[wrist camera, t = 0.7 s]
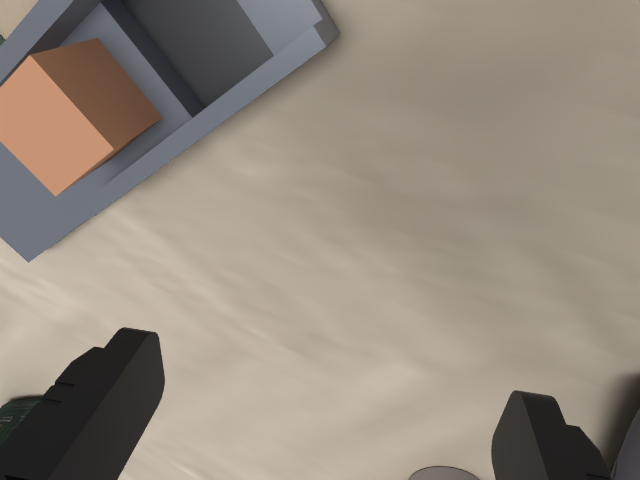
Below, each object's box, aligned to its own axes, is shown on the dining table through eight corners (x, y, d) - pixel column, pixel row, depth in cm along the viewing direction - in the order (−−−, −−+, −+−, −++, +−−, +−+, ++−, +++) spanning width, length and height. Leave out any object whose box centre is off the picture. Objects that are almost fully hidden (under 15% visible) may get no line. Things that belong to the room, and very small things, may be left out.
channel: (229, -151, 20) (187, -177, 16) (339, 32, 23) (326, 46, 19) (-52, 155, 32) (-114, 181, 28) (46, 248, 35) (3, 282, 31)
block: (97, 37, 23) (29, 54, 19) (163, 117, 25) (114, 149, 21) (45, 90, 25) (-26, 115, 21) (109, 160, 27) (55, 196, 23)
